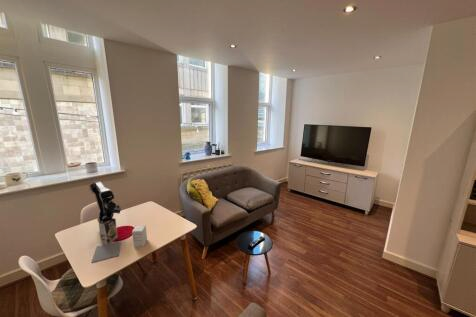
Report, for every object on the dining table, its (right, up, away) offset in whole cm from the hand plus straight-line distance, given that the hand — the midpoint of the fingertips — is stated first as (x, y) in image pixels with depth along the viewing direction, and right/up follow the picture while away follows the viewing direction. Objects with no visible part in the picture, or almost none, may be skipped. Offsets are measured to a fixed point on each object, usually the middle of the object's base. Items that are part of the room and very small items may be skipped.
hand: (110, 223), depth 154 cm
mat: (+10, -13, -18) cm, 24 cm away
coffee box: (+4, -11, -6) cm, 13 cm away
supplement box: (+29, -12, -9) cm, 32 cm away
